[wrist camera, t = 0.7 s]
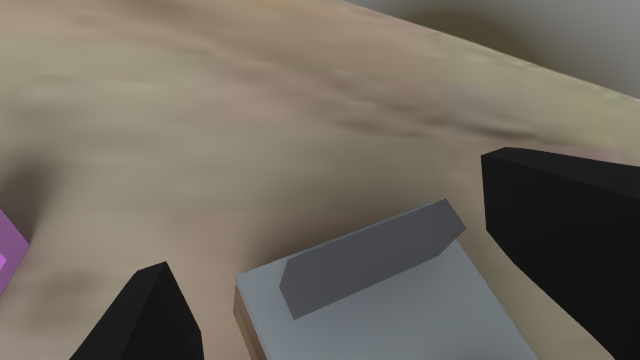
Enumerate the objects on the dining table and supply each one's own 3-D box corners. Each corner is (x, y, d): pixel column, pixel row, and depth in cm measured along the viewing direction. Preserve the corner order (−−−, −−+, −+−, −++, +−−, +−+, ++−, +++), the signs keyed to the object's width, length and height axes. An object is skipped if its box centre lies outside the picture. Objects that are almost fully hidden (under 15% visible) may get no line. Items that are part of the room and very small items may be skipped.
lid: (532, 373, 21) (590, 353, 18) (326, 506, 16) (354, 513, 13) (424, 210, 25) (455, 169, 22) (236, 283, 20) (239, 246, 17)
